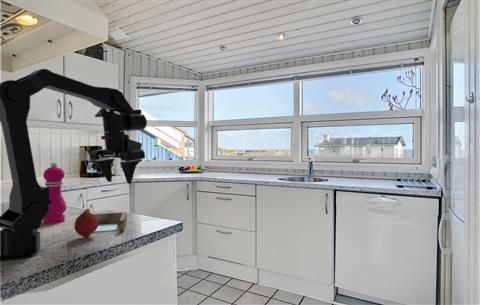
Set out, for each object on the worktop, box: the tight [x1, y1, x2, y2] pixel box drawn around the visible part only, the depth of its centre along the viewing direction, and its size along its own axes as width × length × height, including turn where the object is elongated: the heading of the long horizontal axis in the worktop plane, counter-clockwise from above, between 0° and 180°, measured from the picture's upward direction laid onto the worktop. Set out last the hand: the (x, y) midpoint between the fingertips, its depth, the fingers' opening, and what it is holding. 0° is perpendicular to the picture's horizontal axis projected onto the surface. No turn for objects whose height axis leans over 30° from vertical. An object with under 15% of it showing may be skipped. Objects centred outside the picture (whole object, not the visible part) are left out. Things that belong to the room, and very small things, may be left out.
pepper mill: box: [42, 162, 67, 225], centre depth 96 cm, size 7×7×20 cm
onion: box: [73, 208, 98, 239], centre depth 79 cm, size 6×6×8 cm
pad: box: [93, 223, 119, 233], centre depth 88 cm, size 8×8×1 cm
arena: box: [93, 211, 128, 233], centre depth 88 cm, size 11×12×4 cm
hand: (119, 182), depth 87 cm, fingers open, 9 cm apart
